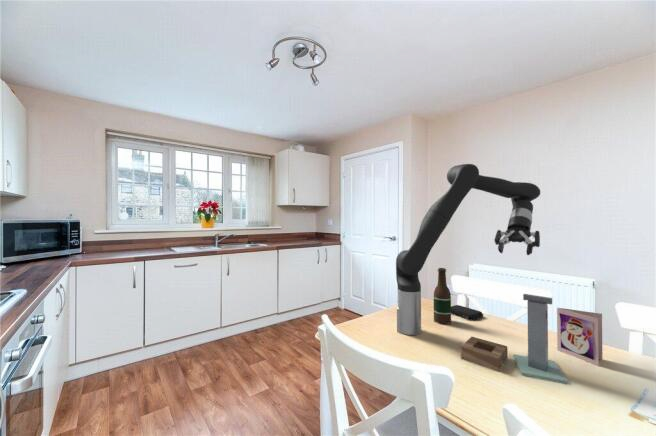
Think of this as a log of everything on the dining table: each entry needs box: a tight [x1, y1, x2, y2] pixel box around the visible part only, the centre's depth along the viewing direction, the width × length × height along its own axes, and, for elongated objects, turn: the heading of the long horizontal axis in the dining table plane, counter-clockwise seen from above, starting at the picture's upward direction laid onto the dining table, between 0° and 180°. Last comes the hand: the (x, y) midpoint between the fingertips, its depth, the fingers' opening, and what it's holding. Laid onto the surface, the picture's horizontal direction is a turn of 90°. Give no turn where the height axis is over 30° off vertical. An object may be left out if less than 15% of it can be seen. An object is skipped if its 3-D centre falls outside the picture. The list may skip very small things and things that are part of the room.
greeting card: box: [556, 307, 603, 367], centre depth 92 cm, size 11×7×15 cm, turn 20°
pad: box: [512, 353, 569, 385], centre depth 85 cm, size 11×12×1 cm
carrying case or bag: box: [451, 304, 484, 321], centre depth 132 cm, size 11×3×15 cm
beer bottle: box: [433, 267, 452, 325], centre depth 124 cm, size 8×8×24 cm
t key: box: [522, 293, 553, 372], centre depth 85 cm, size 4×7×22 cm, turn 45°
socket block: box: [460, 336, 509, 372], centre depth 91 cm, size 11×11×4 cm
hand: (514, 252), depth 103 cm, fingers open, 8 cm apart
